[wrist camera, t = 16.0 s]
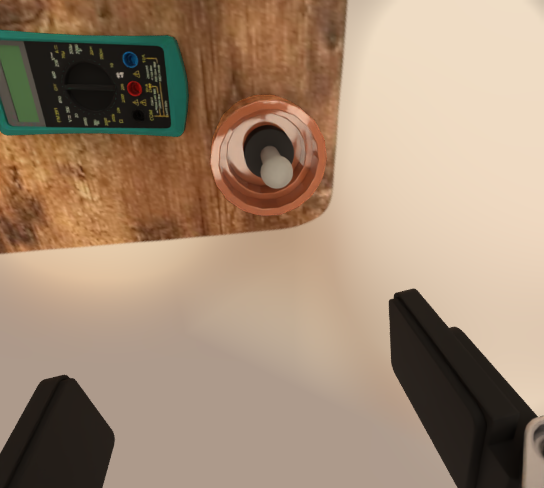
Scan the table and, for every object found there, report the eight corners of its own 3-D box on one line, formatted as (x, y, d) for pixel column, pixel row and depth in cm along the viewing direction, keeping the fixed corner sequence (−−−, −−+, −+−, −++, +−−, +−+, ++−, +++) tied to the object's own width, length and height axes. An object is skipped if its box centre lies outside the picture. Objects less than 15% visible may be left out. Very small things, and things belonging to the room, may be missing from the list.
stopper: (240, 170, 33) (244, 202, 25) (246, 121, 31) (252, 141, 23) (286, 175, 33) (302, 208, 26) (294, 128, 31) (315, 150, 24)
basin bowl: (209, 190, 34) (206, 210, 29) (217, 85, 29) (215, 89, 25) (302, 201, 35) (313, 221, 31) (323, 101, 31) (338, 109, 27)
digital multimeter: (192, 132, 31) (188, 138, 28) (14, 130, 29) (-7, 137, 27) (185, 37, 28) (180, 35, 25) (-17, 29, 26) (-45, 25, 23)
